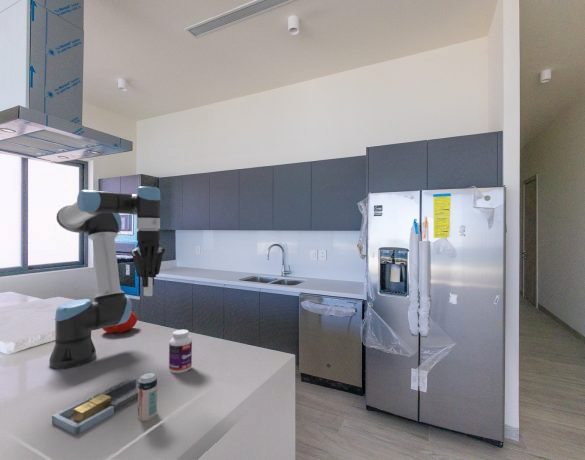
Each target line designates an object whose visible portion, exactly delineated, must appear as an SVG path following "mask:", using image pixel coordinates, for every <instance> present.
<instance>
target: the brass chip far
mask: <svg viewBox="0 0 585 460" xmlns="http://www.w3.org/2000/svg"><path fill="white" fill-rule="evenodd" d="M89 402H91V403H93V404H95V405H97V413H99V412H101V411H103V410H105V409H106V408H108V407H110V403H111V397H110V396H107V395H104V394H101V395H99V396H97V397H95V398H93V397H92V399H91V400H89Z"/></svg>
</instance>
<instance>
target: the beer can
mask: <svg viewBox="0 0 585 460" xmlns="http://www.w3.org/2000/svg"><path fill="white" fill-rule="evenodd" d="M137 385H138V399H137V418H138V420H139V421H141V422H146V421H150V420H152V419H154V418H156V416H157V413H158V412H157V411H158V403H157V402H158V376H157V374H156V373H155V372H152V371H149V372H144V373H142V374H141V375H140V376H139V378H138V381H137Z"/></svg>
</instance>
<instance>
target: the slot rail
mask: <svg viewBox="0 0 585 460" xmlns="http://www.w3.org/2000/svg"><path fill="white" fill-rule="evenodd" d="M101 394H104V395H107V396H110V397H111V403H110V406H114V413H115V412H116V411H119V410H120V409H122V408H124V407H126V406H128V405H129V404H131V403H132V402H134V401H136V400H138V383H137V378H136V377H130V378H128V379H125V380H124V381H122V382H120V383H118V384H116V385H114V386H111V387H110V388H108V389H106V390H104V391H102V392H100V393H97V394H96V395H94V396H92V399H93V398H95V397H97V396H99V395H101Z"/></svg>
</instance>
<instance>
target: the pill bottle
mask: <svg viewBox="0 0 585 460" xmlns="http://www.w3.org/2000/svg"><path fill="white" fill-rule="evenodd" d="M168 344H169V345H168V346H169V347H168V348H169V349H168V351H169V352H168V370H169V372H171V373H173V374H181V373H185V372H188V371H190V369H191V368H192V363H193V361H192V359H193V356H192V355H193V353H192V352H193V347H192V346H193V340H192V337H191V336H189V330H188V329H177V330H174V331H173V332H172V338H171V339H170V340H169V341H168Z"/></svg>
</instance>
